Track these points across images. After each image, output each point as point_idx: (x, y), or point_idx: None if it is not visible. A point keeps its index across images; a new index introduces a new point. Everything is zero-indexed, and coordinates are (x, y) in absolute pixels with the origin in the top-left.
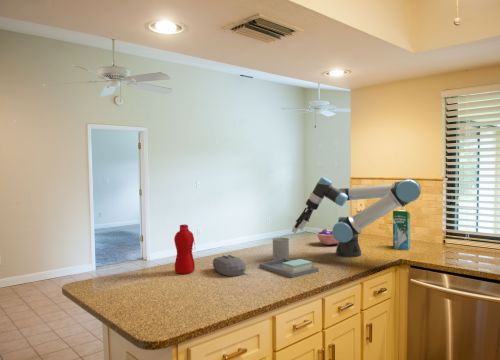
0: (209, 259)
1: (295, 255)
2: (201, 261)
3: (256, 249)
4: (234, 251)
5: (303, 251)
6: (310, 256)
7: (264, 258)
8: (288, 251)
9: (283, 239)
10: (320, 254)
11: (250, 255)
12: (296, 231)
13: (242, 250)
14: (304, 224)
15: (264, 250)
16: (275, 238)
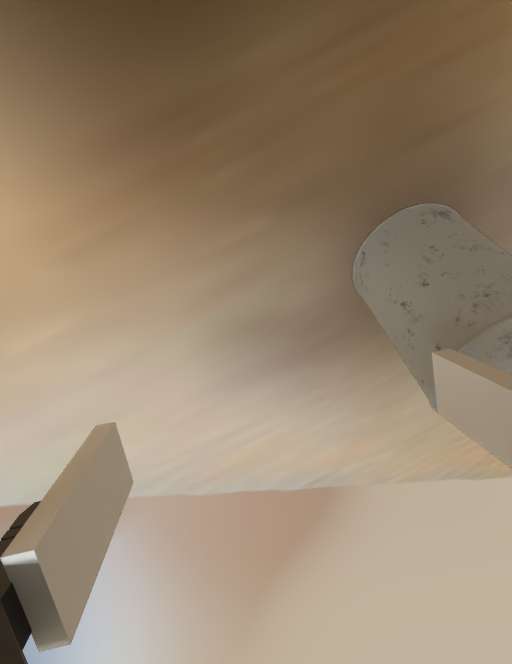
0: (448, 457)
1: (230, 247)
2: (480, 454)
3: (206, 466)
4: (293, 485)
5: (43, 267)
6: (193, 101)
7: (389, 347)
8: (457, 241)
9: (503, 352)
10: (12, 22)
11: (343, 418)
12: (457, 360)
13: (259, 481)
14: (77, 498)
15: (204, 438)
16: None
